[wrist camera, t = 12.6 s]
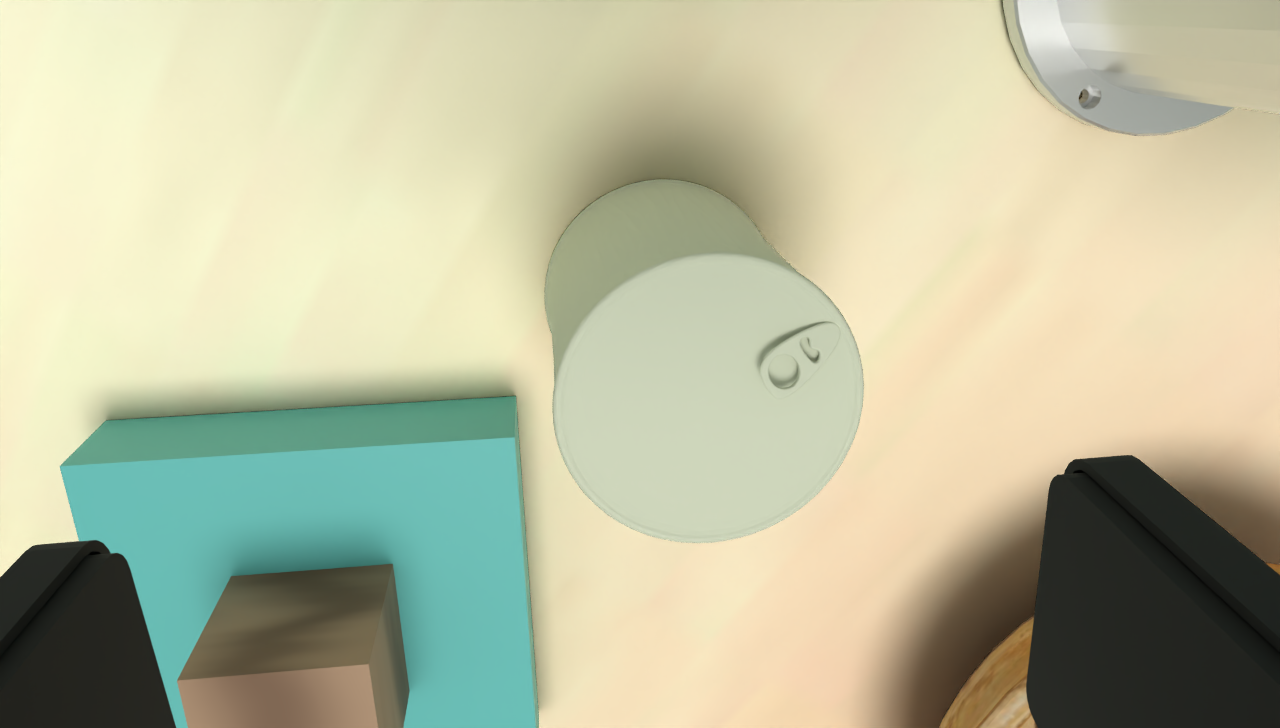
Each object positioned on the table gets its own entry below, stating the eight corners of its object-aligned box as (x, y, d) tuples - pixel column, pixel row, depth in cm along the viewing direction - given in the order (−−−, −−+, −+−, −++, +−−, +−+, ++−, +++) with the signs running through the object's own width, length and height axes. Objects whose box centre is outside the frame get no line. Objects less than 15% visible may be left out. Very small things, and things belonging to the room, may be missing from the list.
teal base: (515, 396, 39) (514, 437, 36) (538, 712, 45) (539, 776, 41) (105, 420, 38) (59, 466, 34) (182, 744, 43) (150, 813, 40)
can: (813, 321, 40) (926, 447, 28) (626, 440, 41) (664, 607, 29) (697, 130, 36) (772, 188, 25) (497, 265, 37) (484, 377, 26)
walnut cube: (393, 563, 37) (368, 664, 31) (409, 691, 39) (389, 806, 33) (231, 576, 36) (176, 680, 31) (257, 704, 38) (210, 824, 33)
